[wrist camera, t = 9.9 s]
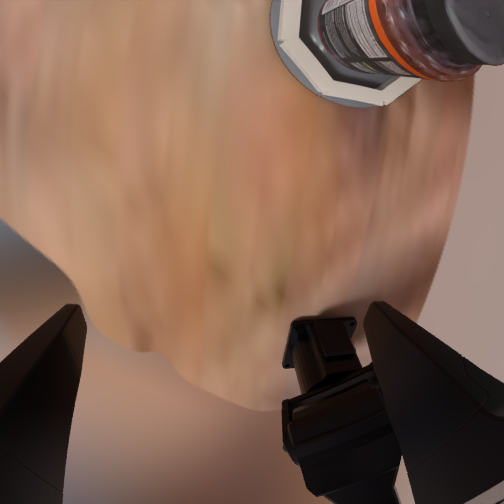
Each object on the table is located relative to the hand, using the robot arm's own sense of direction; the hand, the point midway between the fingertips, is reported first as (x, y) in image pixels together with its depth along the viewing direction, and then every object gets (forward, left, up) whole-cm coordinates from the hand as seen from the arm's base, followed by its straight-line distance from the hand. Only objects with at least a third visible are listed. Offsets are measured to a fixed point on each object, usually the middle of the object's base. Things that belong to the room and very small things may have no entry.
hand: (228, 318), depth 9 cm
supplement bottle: (+11, -8, -13) cm, 18 cm away
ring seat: (+11, -8, -13) cm, 19 cm away
